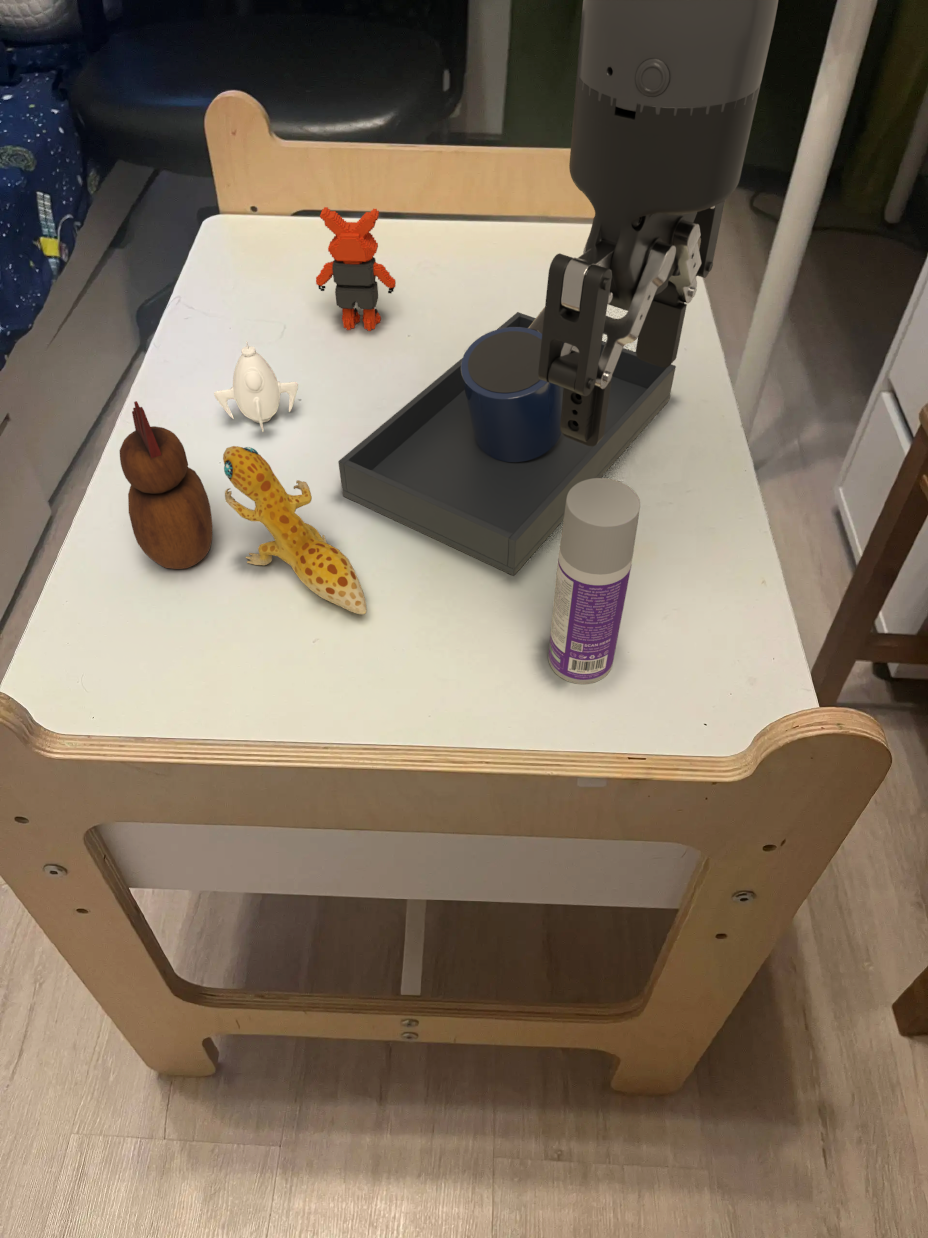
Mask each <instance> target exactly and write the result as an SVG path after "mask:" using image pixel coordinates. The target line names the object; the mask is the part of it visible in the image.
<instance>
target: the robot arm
mask: <svg viewBox="0 0 928 1238" xmlns="http://www.w3.org/2000/svg"><path fill="white" fill-rule="evenodd" d="M778 5H779V0H583V1H582V9H581V19H580V33H579V45H578V54H577V55H578V57H577V67H576V68H577V69H576V80H575V91H574V92H575V93H574V104H573V115H572V117H573V118H572V129H571V140H570V150H569V152H570V153H569V162H568V163H569V165H568V166H569V167H568V168H569V175H570V178H571V180H572V182H573V183H574V186H576V188H577V189H578V190H579V191H580V192H582V194H583V195H584V196H585V197H586V198H587V199H588V201H589V202H590V204H591V206H592V208H593V210H594V216H593V219H592V224H591V227H590V232H589V235H588V237H587V240H586V242H585V245H584V248H583V251H582V254H581V255H580V256H578V257H572V256H569V255H567V254H564V253H563V254H562V253H557V254H555V256H554V257H553V258H552V260H551V262H550V265H549V268H548V273H547V274H548V275H547V283H546V284H547V285H546V295H545V304H544V307H545V312H544V322H543V332H542V341H541V351H540V361H539V370H538V377H539V379H540V380H543V381H546V382H548V383H553V384H555V385H558V386H561V387H563V388H564V390H563V400H562V411H561V421H560V430H561V433H562V434H563V435H564V436H565V437H567V438H569V439H572V440H574V441H577V442H579V443H582V444H584V445H587V446H590V447H593V446H595V445H596V444H597V443H598V442H599V441H600V440H601V439H602V438H603V436H604V431H605V424H606V417H607V410H608V402H609V395H610V388H611V381H610V380H611V378H612V374H613V372H614V369H615V367H616V364H617V362H618V359H619V357H620V354H621V351H622V349H623V348H625V346H626V345H627V344H632V343H634V342H635V341H636V340H637V341H636V347H635V352H636V355H637V357H638V358H639V359H640V360H642V361H645V362H648V363H651V364H654V365H656V366H659V367H662V368H667V367H669V366H670V365H671V364H672V365H673V363H674V362H675V361H676V359H677V356H678V351H679V347H680V346H679V345H680V341H681V337H682V332H683V326H684V322H685V315H686V312H687V311H686V310H687V306H688V305H687V304H690V303H691V302H692V300H693V298H694V297H695V296H696V295H697V289H698V288H697V287H698V280H697V277H699V278H703V279H706V278H707V277H708V276H709V274H710V272H711V271H712V269H713V267H714V260H715V259H714V258H715V254H716V249H717V242H718V239H719V234H720V227H721V223H722V217H723V213H724V208H725V207H724V206H725V202H726V200H727V199H728V198H729V197H730V196H731V195H732V194H733V193H734V192H735V190H736V189H737V188H738V186H739V183H740V180H741V177H742V172H743V167H744V163H745V157H746V152H747V149H748V144H749V139H750V135H751V130H752V126H753V120H754V117H755V112H756V107H757V103H758V99H759V93H760V89H761V84H762V81H763V76H764V72H765V67H766V62H767V58H768V53H769V49H770V44H771V41H772V40H771V39H772V36H773V31H774V27H775V22H776V16H777V12H778V11H777V10H778ZM699 240H700V242H699ZM608 306H611V307H613V308H616V309H620V310H624V311H626V314H625V315H624V316H622V317H621V318H615V317H612V316H608V315H607V311H608ZM604 335H605V336H606V341H605V342H606V344H605V346H604V349H603V351H602V354H601V357H600V350H601V344H602V341H603V337H604ZM562 342H565V343H564V346H563V348H562ZM561 349H562V351H561ZM599 357H600V359H599Z"/></svg>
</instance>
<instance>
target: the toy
mask: <svg viewBox="0 0 928 1238" xmlns="http://www.w3.org/2000/svg"><path fill="white" fill-rule="evenodd" d="M222 460H223V464H224V467H223V472H224V474H225V476H226V477H227V479H228V480H229V481H230V483H231V484H232V486H233V487H234V488H235V489H237V490H238V491H239V492H241V493H242V494H243V495H244V496H245V497H247V498H248V499H250V500H251V501H253V502H254V506H255V507H254V509H251V508H249V507H246V506H244V505H243V504H241V503H240V502H238V501H237V500H236V499H235V497H233V496H232V494H233V493H232V490H231V488H226V489H225V490H224V499H225V502H226V503H227V504H228V505H229V507H230V508H232V510H234V511H235V512H236V513H237V514H238V515H239V516H240V517H241V518H242V519H244V520H246V521H250V522H257V523H258V522H259V523H261V524H262V525H263V526H264V527H265V528H266V529H267V530H268V532H269V534H270V535H271V536H272V537H273V539H274V540H270V541H267V542H264V543H260V544H259V546H258V548H257V549H258V553H255V552H249V553H248V555H247V556H245V559H248V560H247V561H246V563H247V564H250V565H255V566H267V565H269V564H270V563H272V561H273V556H275V557H278V559H280V560H282V561H283V562H285V563H286V564H288V565H289V566H291V569H292V570H293V571H294V573H295V575H296V576H297V578H298V579H299V580H300V582H302V584H304V585H305V586H306V587H307V588H308V589H309V590H310V591H311V592H313V593H314V594H315V595H317V596H318V597H320V598H322V599H323V600H326V602H327V601H328V602H329V603H332V604H334V605H336V606H338V607H340V608H343V609H344V610H347V611H349V612H351V613H354V614H356V615H365V614H367V602H366V598H365V594H364V589H363V587H362V585H361V582H360V579H359V577H358V575H357V573H356V571H355V568H354V566H353V565H352V563H351V561H350V559H349V558H348V557H347V556H346V555H345V554H344V553H343V552H342V551H340V549H338V548H336V547H334V546H332V545H331V544H329V543H327V540H326V537H325V535H324V534H322V535H321V534H320V533H319V531H318V529H317V528H315V526H313V525H311V524H309V523H307V522H305V521H304V520H303V519H302V518H301V516H299V514H297V513H296V510H297V509H299V508H302V507H304V506H307V505H309V504H310V503H311V502H312V501H313V500H312V499H313V497H312V496H313V495H312V493H311V489H310V486H309V484H308V482H307V481H303V480H299V479H298V480H297V479H296V482H295V483H296V485H294V486H293V489H294V490H296V489H297V490H300V492H301V494H295V495H294V494H290V493H288V492H287V491H286V489H285V487H284V486H283V485H282V483H281V482H280V479H278V477H277V476H276V475H275V473H274V471H273V469H272V467H271V465H270V464H269V462H268V461H267V460H266V459H265V458H263V456H261V454H259V452H258V450H256V449H255V448H254V447H249V446H245V447H243V446H239V445H233V446H229V447H226V448H225V450H224V452H223V455H222ZM249 555H250V556H249Z"/></svg>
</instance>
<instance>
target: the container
mask: <svg viewBox="0 0 928 1238" xmlns="http://www.w3.org/2000/svg"><path fill="white" fill-rule="evenodd" d="M640 511H641V500H640V497H639V495H638V494H637V492H635V490H634V489H633V488H631V487H630V486H629V485H628V484H626V483H624V482H622V481H619V480H616V479H612V478H607V477H601V478H593V479H587V480H584V481H581V482H579V483H577V484H576V485H575V486H573V487H572V488H571V489H570V491H569V492H568V495H567V499H566V506H565V513H564V520H563V521H562V528H561V536H560V543H559V550H558V557H557V566H556V576H555V584H554V585H555V587H554V595H553V605H552V613H551V614H552V615H551V625H550V635H549V644H548V655H547V657H548V658H547V659H548V663H549V666H550V668H551V669H552V671H553V673H555V674H556V675H557V676H558V677H559V678H561V679H562V680H565V681H567V682H569V683H572V684H578V685H588V684H593V683H597V682H599V681H601V680H602V679H605V677H607V676H608V674H609V673H610V672H611V670H612V668H613V663H614V658H615V653H616V649H617V644H618V638H619V633H620V628H621V623H622V617H623V612H624V607H625V601H626V596H627V591H628V587H629V582H630V581H629V580H630V575H631V570H632V565H633V563H632V562H633V557H634V551H635V550H634V549H635V543H636V538H637V531H638V525H639V524H638V523H639V518H640Z"/></svg>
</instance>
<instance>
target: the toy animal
mask: <svg viewBox="0 0 928 1238" xmlns="http://www.w3.org/2000/svg"><path fill="white" fill-rule="evenodd" d="M379 216H380V211H379V210H378V208H372V209H371V210H370V211H366V212H364V214H363V215H362V216H361V217H360V219H358V220H357V221H347V220H345V219H344V218H343V217H342V216H341V215H340V214H339V213H338V212H337V211H336V210H331V209H330V208H329V207H328V206H324V207H323V208H322V210H321V212H320V214H319V218H320V220H322V221H323V222H324V227H326V228H327V229H328V230H329V231H331V233H333V235H334V236H333V238H331V241H330V242H329V244H328V247H327V252H329V255H331V258H333V260H332V261H327V262H325V264H323V266H322V268H321V270H320V272H319V273H318V275H317V276H315V284H316V286H317V287H318V290H320V292H325V289H326V284H327V283H328V282H329V281H330V280H331V279H332V278H333V283H335V284H336V285H335V288H334V294H335V302H336V306H338V308H340V309H341V311H342V315H341V321H342V324H343V329H346V331H351V329H355V328H356V327H355V326H356V324H358V323H360V321H361V314H359V313H360V312H359V310H362V323H363V327H364V330H367V332H370V331H371V332H372V330H376V327H377V325H378V324H380V323H381V320H382V317H381V315H380V313H379V311H378V309H377V308H376V307H377V304H378V301H379V287H378V281H376V278H377V280H379V282H381V284H383V285H384V286H385V287H387V288H388V290H387V294H392V293H394V290H395V288H396V278H394V277H393V276H392V275H390V271H388V270H387V269H386V268H387V267H386V266H384V264H383V263H378V262H377V261H376V257H375V255H376V254H377V251H378V248H379V244H378V243H379V242H377V240H376V239H375V237H374V235H373V234H372V233H371V232H372V231H373V229H374V228H375V226H376V222H377V221H378V220H379ZM356 304H357V307H356ZM357 308H359V310H358V309H357Z"/></svg>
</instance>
